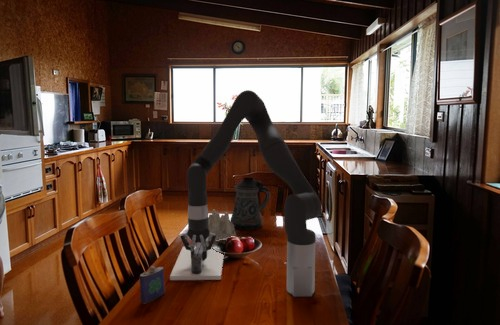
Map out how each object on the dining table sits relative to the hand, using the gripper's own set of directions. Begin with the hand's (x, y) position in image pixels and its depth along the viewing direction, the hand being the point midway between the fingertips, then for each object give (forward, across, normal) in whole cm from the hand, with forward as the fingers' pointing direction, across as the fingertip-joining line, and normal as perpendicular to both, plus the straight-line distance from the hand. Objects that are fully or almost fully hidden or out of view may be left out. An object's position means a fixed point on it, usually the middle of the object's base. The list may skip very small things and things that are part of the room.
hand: (199, 259), depth 150 cm
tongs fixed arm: (+1, 0, +3) cm, 3 cm away
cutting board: (+3, 0, +4) cm, 5 cm away
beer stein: (+4, +20, +54) cm, 58 cm away
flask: (+3, -12, -24) cm, 27 cm away
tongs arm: (+1, -1, +5) cm, 5 cm away
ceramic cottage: (+4, +5, +37) cm, 38 cm away
